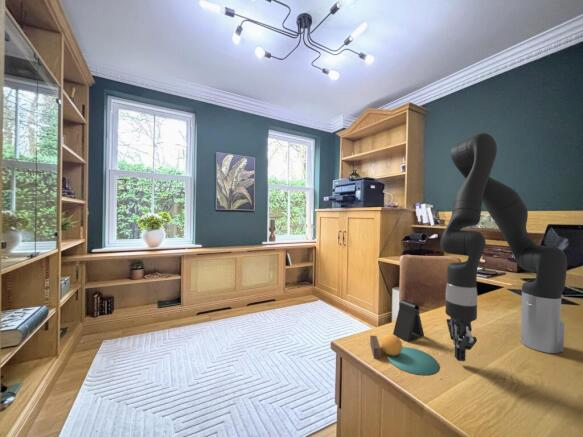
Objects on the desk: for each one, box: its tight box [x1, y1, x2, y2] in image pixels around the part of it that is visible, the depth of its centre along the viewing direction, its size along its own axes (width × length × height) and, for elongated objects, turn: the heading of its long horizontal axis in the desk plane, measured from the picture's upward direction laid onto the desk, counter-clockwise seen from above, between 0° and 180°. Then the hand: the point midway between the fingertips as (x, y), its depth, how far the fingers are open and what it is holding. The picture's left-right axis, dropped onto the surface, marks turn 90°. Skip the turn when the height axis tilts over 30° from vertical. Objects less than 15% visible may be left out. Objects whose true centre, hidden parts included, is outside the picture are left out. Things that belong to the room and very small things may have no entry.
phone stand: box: [392, 299, 425, 343], centre depth 90 cm, size 9×6×12 cm, turn 118°
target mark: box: [386, 346, 440, 376], centre depth 75 cm, size 14×14×1 cm
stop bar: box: [369, 335, 382, 359], centre depth 80 cm, size 2×8×3 cm, turn 170°
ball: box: [380, 333, 403, 356], centre depth 78 cm, size 6×6×6 cm
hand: (459, 359), depth 73 cm, fingers closed
